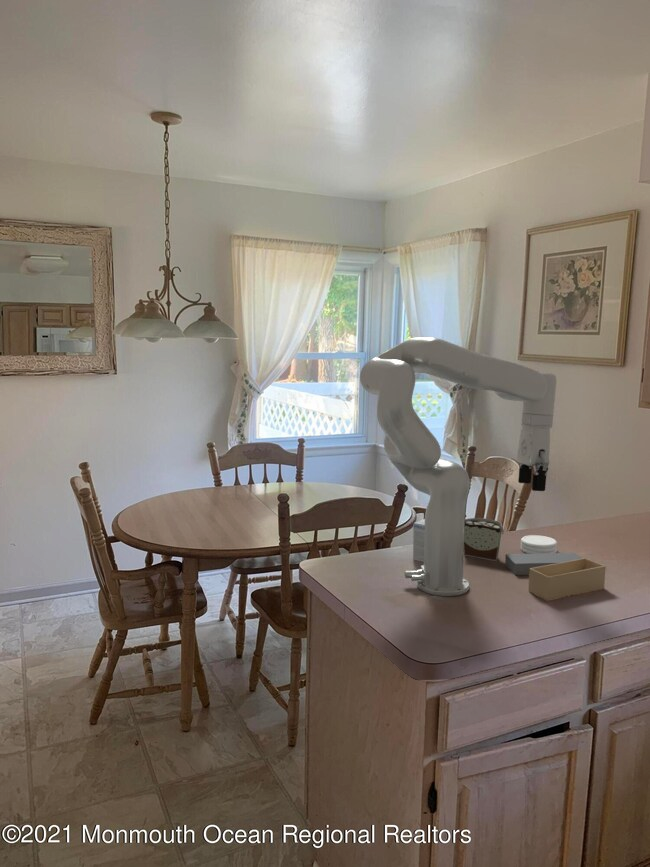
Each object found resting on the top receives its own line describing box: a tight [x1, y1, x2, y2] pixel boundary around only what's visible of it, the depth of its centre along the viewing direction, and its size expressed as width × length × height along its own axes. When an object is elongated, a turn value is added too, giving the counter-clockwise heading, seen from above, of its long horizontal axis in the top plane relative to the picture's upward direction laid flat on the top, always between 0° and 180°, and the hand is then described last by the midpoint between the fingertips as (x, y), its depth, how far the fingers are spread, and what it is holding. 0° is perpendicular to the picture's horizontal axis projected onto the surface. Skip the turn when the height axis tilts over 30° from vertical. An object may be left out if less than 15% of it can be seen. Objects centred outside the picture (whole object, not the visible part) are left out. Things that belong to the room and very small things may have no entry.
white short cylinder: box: [520, 534, 558, 554], centre depth 183 cm, size 10×10×4 cm
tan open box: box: [528, 557, 607, 601], centre depth 154 cm, size 18×6×6 cm, turn 114°
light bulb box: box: [412, 518, 425, 563], centre depth 177 cm, size 11×7×11 cm, turn 141°
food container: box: [464, 517, 505, 562], centre depth 179 cm, size 12×6×10 cm, turn 58°
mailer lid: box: [504, 552, 583, 576], centre depth 168 cm, size 19×8×3 cm, turn 93°
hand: (531, 486), depth 163 cm, fingers open, 9 cm apart
